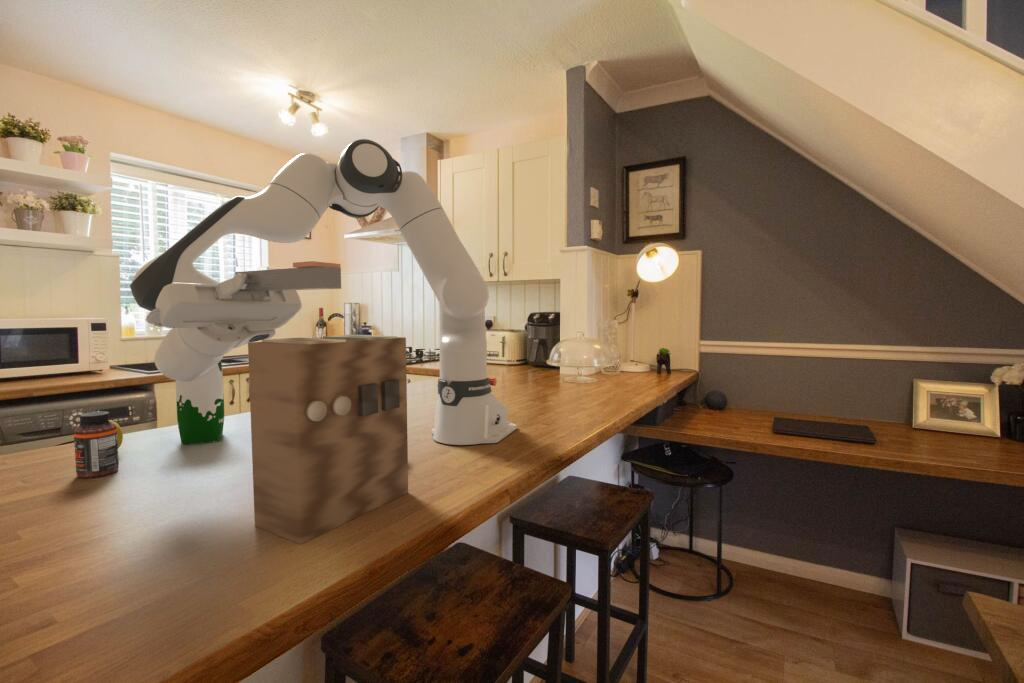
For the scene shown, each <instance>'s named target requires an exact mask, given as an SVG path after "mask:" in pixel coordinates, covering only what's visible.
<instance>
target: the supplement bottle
mask: <svg viewBox="0 0 1024 683" xmlns="http://www.w3.org/2000/svg"><path fill="white" fill-rule="evenodd" d="M79 419H80V420H79V422H80V423H79V426H77V427H75V428H74V431H73V442H74V456H75V458H74V459H75V472H76V476H77V477H79V478H82V479H92V478H93V477H94V478H100V477H99V476H101V477H105V476H108V475H111V474H113V473H115V472H117V471H118V470H119V468H120V466H119V464H120V463H119V448H118V440H117V427H116V425H115V424H114V423H112V422H110V421H108V420H109V419H111V417H110V412H109V411H104V410H102V411H101V410H100V411H98V410H97V411H91V412H86V413H81V414H80V417H79ZM104 475H105V476H104ZM94 478H93V479H94Z"/></svg>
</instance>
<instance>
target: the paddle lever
mask: <svg viewBox="0 0 1024 683" xmlns="http://www.w3.org/2000/svg"><path fill="white" fill-rule="evenodd" d="M341 268H342V267H341V263H334V262H333V263H332V262H323V261H313V260H311V261H299V262H292V267H290V268H276V269H264V270H263V269H262V270H259V269H258V270H249V271H248V270H247V271H235V272H234V276H235V275H236V274H237V273H242V274H248V275H249V278H250V280H251V284H250V285H249V286H248V287H247V289H240V290H238V291H285V290H296V291H311V290H314V291H315V290H316V291H317V290H335V289H336V290H340V289H342V269H341Z"/></svg>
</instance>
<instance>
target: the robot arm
mask: <svg viewBox="0 0 1024 683" xmlns="http://www.w3.org/2000/svg"><path fill="white" fill-rule="evenodd" d="M339 156H340V157H339V161H338V163H332V162H327V161H326V160H325V159H323V158H322V157H320V156H318V155H317V154H314V153H309V152H305V153H300V154H298V155H296V156H294V157H293V158H292V159H291V160H289V161H288V162H287V163H286V164H285V165H284V166H283V167H282V168H281V169H279V171H278V172H277V173H276V174H275V175H274V176H273V178H272V179H271V181H269V183H268V184H267V185H266V186H265V188H264V189H262V190H261V191H260V192H258V193H256V194H253V195H251V196H244V195H236V196H234V197H232V198H230V199H229V200H226V201H225V202H223V203H222V204H221V205H220V206H219V207H217V208H216V209H215V210H213V211H212V212H211V213H210V214H209V215H207V216H206V217H205V218H204V219H203V220H201V221H200V222H199V223H198V224H197V225H196V226H194V227H193V228H192V229H191V230H190V231H189V232H187V233H186V234H184V235H183V237H181V238H180V239H179V240H178V241H177V242H175V243H174V244H173V245H172V246H170V247H169V248H167V250H166V251H165V252H163V253H161V254H159V255H158V256H156V257H154V258H152V259H151V260H149V261H148V262H146V263H145V264H144V265H142V267H140V269H138V270H137V272H136V273H135V274H134V276H133V278H132V280H131V284H130V285H129V287H130V292H131V293H132V296H133V299H134V301H135V302H136V305H138V307H139V308H142V309H144V310H147V311H149V313H148V314H147V315H146V318H145V321H146V322H147V324H151V325H153V326H155V327H157V328H158V327H159V328H161V327H164V328H168V329H170V330H169V331H168V332H167V333H166V335H165V336H164V338H163V339H162V340H161V342H160V344H159V345H158V348H157V350H156V352H155V354H154V358H153V359H154V360H153V361H154V365H155V367H156V369H157V370H158V371H159V373H160V374H162V375H163V376H165V377H166V378H169V379H170V380H173V381H175V382H176V381H181V382H186V381H192V380H195V379H197V378H199V377H201V376H202V375H204V374H205V373H207V372H208V371H209V370H211V369H212V368H213V367H214V366H215V365H217V364H218V363H219V362H220V361H221V360H223V358H224V356H226V355H227V354H228V353H229V352H231V351H232V350H234V349H237V348H240V347H243V346H245V345H248V343H252V342H260V341H262V340H267V339H272V338H273V337H274V336H275V335H277V332H276V329H279V328H281V327H283V326H284V325H286V324H287V323H288V322H289V321H290V320H292V319H293V318H294V317H295V316H296V315H297V314H298V313H299V312H300V310H301V309H302V306H303V304H302V300H301V297H300V295H299V293H298V290H285V291H238V290H240V289H247V287H248V286H249V285H250V284H251V280H250V278H249V275H248V274H242V273H237V274H236V275H235V274H234V276H233V277H232V278H229V279H227V280H224V281H221V282H217V281H216V280H214V279H213V278H211V277H209V276H207V275H206V274H204V273H203V272H200V271H199V270H198V269H196V267H194V262H195V261H196V260H197V259H198V258H200V257H201V255H203V254H204V253H205V252H206V251H208V249H209V248H211V247H212V246H213V245H214V244H215V243H216V242H217V241H219V240H220V239H221V238H223V237H225V236H227V235H230V234H231V235H232V234H233V235H234V234H240V235H246V236H250V237H254V238H257V239H261V240H264V241H267V242H273V243H280V244H292V243H296V242H300V241H302V240H304V239H306V237H307V236H308V235H309V234H310V233H311V232H312V230H313V229H315V227H316V225H317V224H318V223H319V221H320V220H321V218H322V217H323V215H324V213H326V210H328V208H329V209H331V210H333V211H336V212H339V213H341V214H343V215H345V216H347V217H351V218H354V219H363V218H367V217H369V216H371V215H373V213H375V212H376V211H377V210H378V208H379V207H381V208H383V210H386V211H387V212H388V213H389V215H390V216H391V217H392V219H393V220H394V221H395V224H396V226H397V228H398V229H399V232H400V234H401V236H402V237H403V239H404V241H405V243H406V245H407V247H408V248H409V250H410V251H411V253H412V255H413V257H414V259H415V261H416V263H417V264H418V266H419V269H420V270H421V271H422V272H421V273H423V275H424V277H425V279H426V280H427V282H428V284H429V286H430V287H431V290H432V291H433V293H434V295H435V297H436V299H437V301H438V307H439V308H438V310H439V312H438V314H439V317H438V318H439V320H438V321H439V325H438V326H439V331H438V333H439V335H438V336H439V340H438V342H439V346H438V348H439V349H438V350H439V378H437V394H438V397H439V398H438V399H437V400H436V405H435V414H434V415H435V416H434V427H432V428H431V434H433V438H432V439H433V441H435V442H438V443H442V444H446V445H451V446H452V445H453V446H468V445H469V446H471V445H479V444H496V443H499V442H500V441H502V440H503V439H504V438H506V437H507V436H508V435H510V434H511V433H513V432H514V431H515V430H517V429H518V428H517V424H515V423H513V422H510V421H508V411H507V406H506V405H505V404H504V403H503V402H502V401H501V400H500V399H498V398H497V397H496V396H495V395H494V394H493V393H492V386H493V387H496V386H497V384H498V380H497V377H490V376H489V377H488V371H487V370H488V366H487V365H488V356H487V354H488V353H487V352H488V350H487V348H488V346H487V343H488V342H487V332H486V331H487V330H486V316H485V314H486V312H485V310H486V309H485V308H486V307H487V306H488V302H489V298H490V296H489V295H490V294H489V288H488V285H487V282H486V281H485V280H484V277H483V276H482V274H481V272H480V271H479V269H478V266H476V264H475V262H474V260H473V259H472V257H471V256H470V254H469V252H468V251H467V249H466V247H465V246H464V244H463V243H462V241H461V239H460V238H459V236H458V234H457V232H456V229H455V228H454V226H453V224H452V222H451V221H450V219H449V217H448V215H447V213H446V211H445V210H444V208H443V206H442V204H441V202H440V200H439V199H438V197H437V196H436V194H435V192H434V191H433V190H432V188H431V187H430V186H429V184H428V182H426V181H425V179H424V178H423V177H422V175H420V174H419V173H417V172H416V171H413V170H412V171H411V170H410V171H409V170H408V171H403V170H402V166H401V164H400V163H399V161H397V160H396V159H395V158H393V157H392V155H391V154H390V152H388V150H387V149H385V147H383V146H382V145H381V144H380V143H379V142H375V141H374V140H370V139H367V138H366V139H365V138H362V139H357V140H355V141H352V142H351V143H349V144H348V145H347V146H346V147H345V149H343V151H342V152H341V154H340V155H339ZM221 362H222V361H221Z"/></svg>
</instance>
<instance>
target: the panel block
mask: <svg viewBox="0 0 1024 683" xmlns="http://www.w3.org/2000/svg"><path fill="white" fill-rule="evenodd" d="M247 350H248V355H247V356H248V378H249V379H248V380H249V382H248V383H249V402H250V403H249V405H250V407H249V408H250V429H251V430H250V432H251V456H252V457H251V458H252V461H251V462H252V482H253V483H252V484H253V514H254V516H253V518H254V527H255V528H258V529H261V530H263V531H266V532H268V533H271V534H273V535H276V536H278V537H281V538H283V539H286V540H288V541H290V542H294V543H296V544H298V545H302V544H304V543H306V542H308V541H311V540H312V539H315V538H317V537H319V536H321V535H322V534H323V535H324V534H325V533H327V532H329V531H331V530H333V529H335V528H337V527H340V526H342V525H343V524H345V523H348V522H350V521H351V520H354V519H356V518H359V517H360V516H362V515H364V514H366V513H369V512H370V511H372V510H375V509H377V508H379V507H381V506H383V505H386V504H387V503H390V502H392V501H393V500H396V499H398V498H400V497H402V496H403V495H406V494H408V493H409V458H408V457H409V456H408V453H409V452H408V451H409V450H408V449H409V448H408V445H409V444H408V396H407V395H408V393H407V392H408V390H407V387H408V386H407V380H408V378H407V338H406V337H405V336H404V337H401V336H397V335H375V334H373V335H372V334H342V335H341V334H340V335H326V336H325V335H323V336H322V337H321V338H318V337H317V338H316V337H287V338H269V339H264V340H261V341H255V342H251V343H248V344H247ZM401 495H402V496H401ZM399 496H400V497H399ZM397 497H398V498H397Z"/></svg>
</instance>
